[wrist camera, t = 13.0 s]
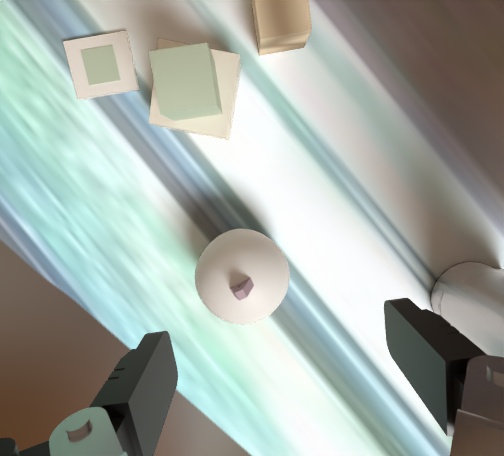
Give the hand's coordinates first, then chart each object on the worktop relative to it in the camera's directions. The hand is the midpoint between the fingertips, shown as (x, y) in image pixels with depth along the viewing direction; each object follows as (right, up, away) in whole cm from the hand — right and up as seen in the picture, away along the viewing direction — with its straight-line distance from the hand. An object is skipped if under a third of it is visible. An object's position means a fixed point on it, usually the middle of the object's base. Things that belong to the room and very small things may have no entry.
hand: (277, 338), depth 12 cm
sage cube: (-7, +18, +20) cm, 28 cm away
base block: (-7, +19, +25) cm, 32 cm away
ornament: (-2, 0, +29) cm, 29 cm away
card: (-18, +22, +24) cm, 37 cm away
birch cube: (+2, +26, +23) cm, 35 cm away
